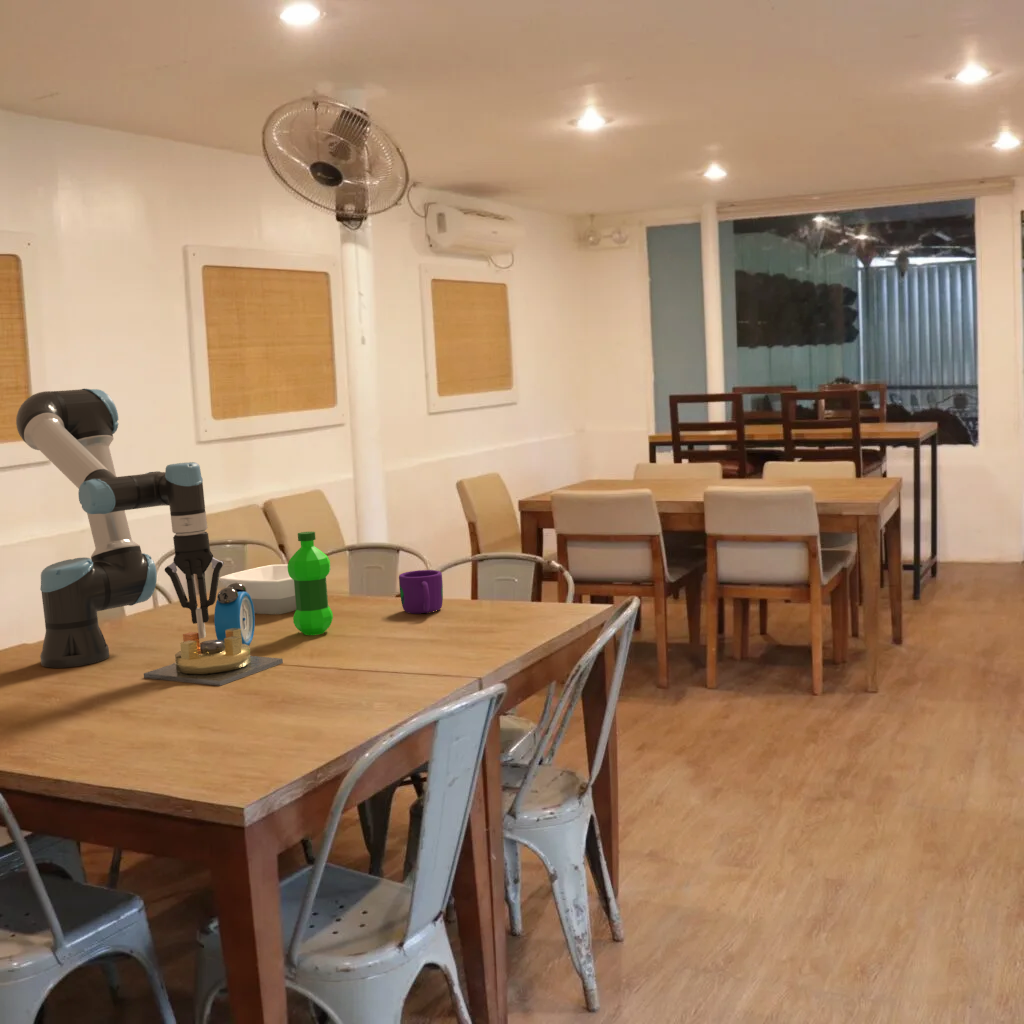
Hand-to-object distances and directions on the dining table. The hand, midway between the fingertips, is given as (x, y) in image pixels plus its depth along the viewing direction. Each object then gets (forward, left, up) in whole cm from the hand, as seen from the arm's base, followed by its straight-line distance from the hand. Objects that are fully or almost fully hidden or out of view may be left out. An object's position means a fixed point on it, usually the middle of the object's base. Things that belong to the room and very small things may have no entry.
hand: (202, 637), depth 273 cm
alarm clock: (-6, +17, -7) cm, 19 cm away
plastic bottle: (+3, +35, -7) cm, 36 cm away
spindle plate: (+5, -3, -7) cm, 9 cm away
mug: (+17, +63, -7) cm, 65 cm away
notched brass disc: (+5, -3, -5) cm, 8 cm away
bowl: (-28, +58, -7) cm, 64 cm away
